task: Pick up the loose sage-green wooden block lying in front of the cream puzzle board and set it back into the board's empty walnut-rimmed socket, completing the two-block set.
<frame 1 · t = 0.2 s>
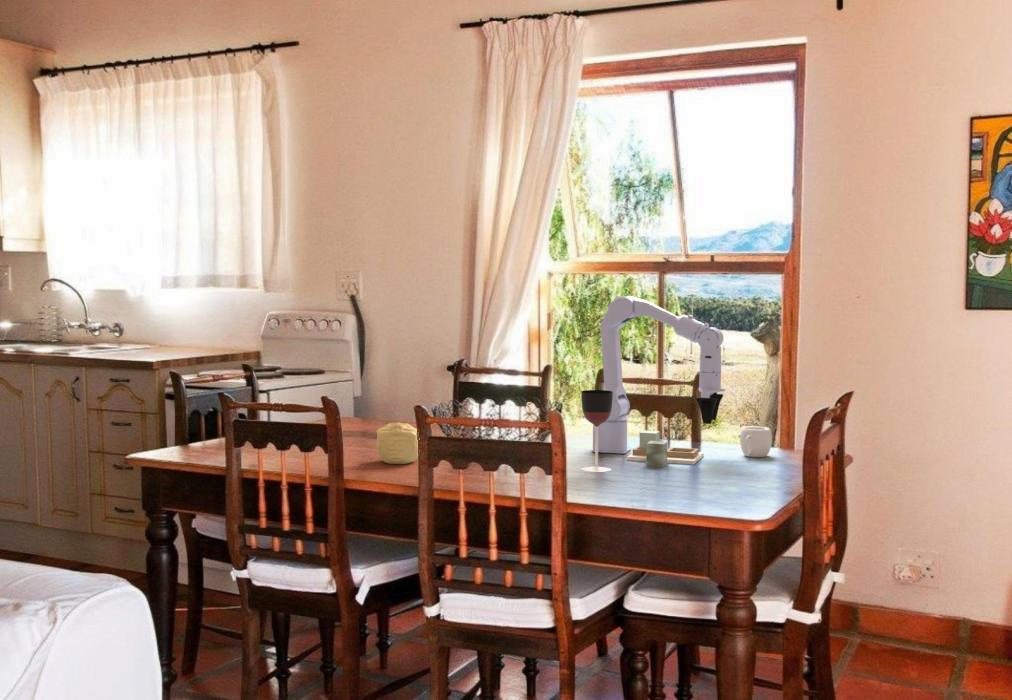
hand: (709, 421, 284), 10 cm above the table, tool pointing down, fingers open, 7 cm apart
wineglass: (596, 470, 267), on the table
green block: (656, 465, 274), on the table
mug: (753, 457, 286), on the table
puzzle board: (665, 458, 284), on the table
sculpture: (398, 463, 277), on the table
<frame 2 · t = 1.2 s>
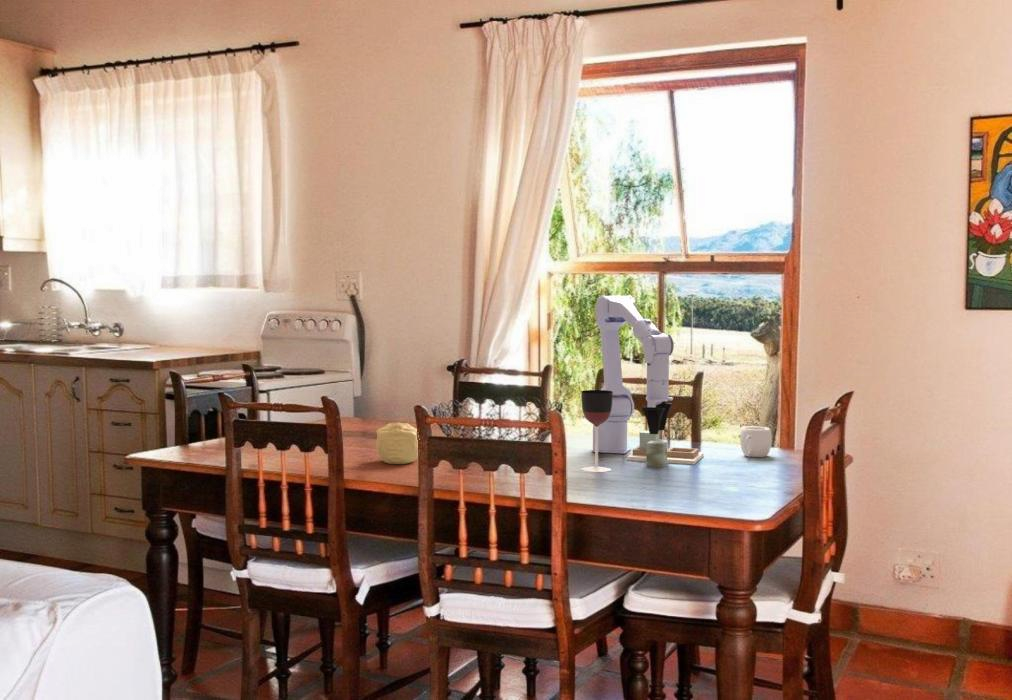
hand: (657, 432, 273), 9 cm above the table, tool pointing down, fingers open, 7 cm apart
nothing on the table moved.
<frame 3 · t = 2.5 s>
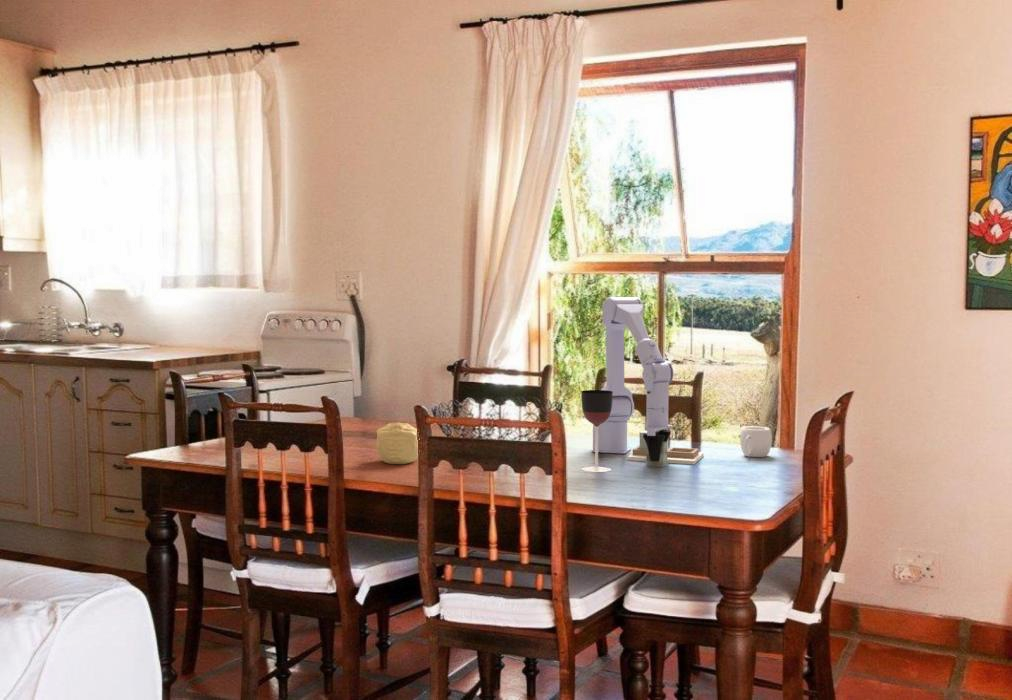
hand: (656, 459, 274), 1 cm above the table, tool pointing down, fingers closed on green block, 4 cm apart
green block: (656, 464, 274), on the table, touching gripper
everything else where it was.
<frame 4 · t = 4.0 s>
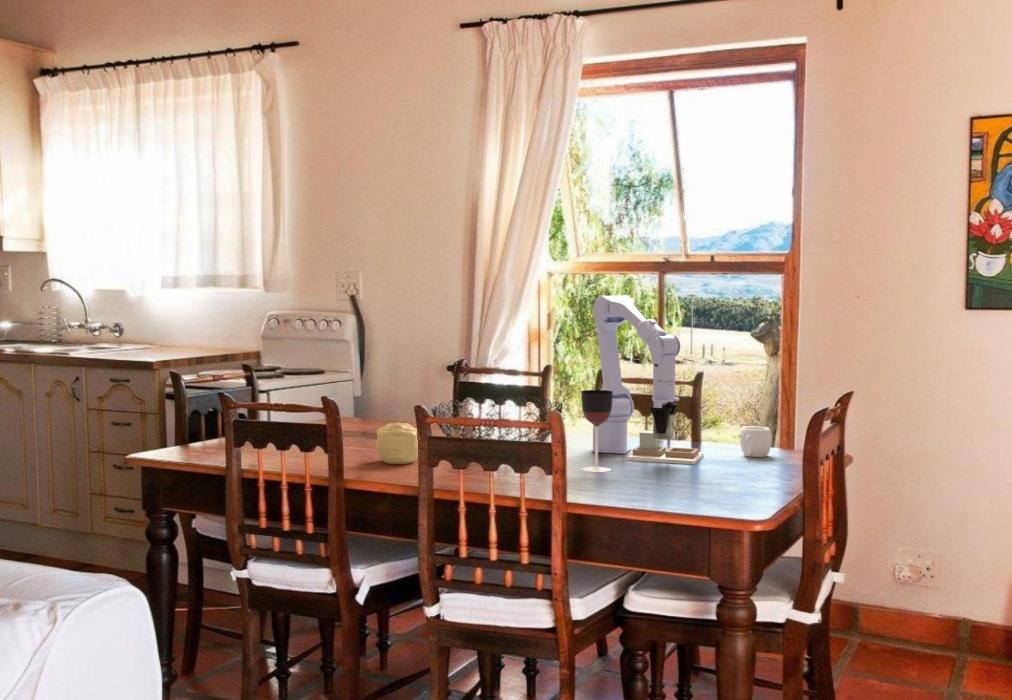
hand: (663, 432, 275), 8 cm above the table, tool pointing down, fingers closed on green block, 4 cm apart
green block: (663, 437, 275), point 7 cm above the table, touching gripper
everything else where it was.
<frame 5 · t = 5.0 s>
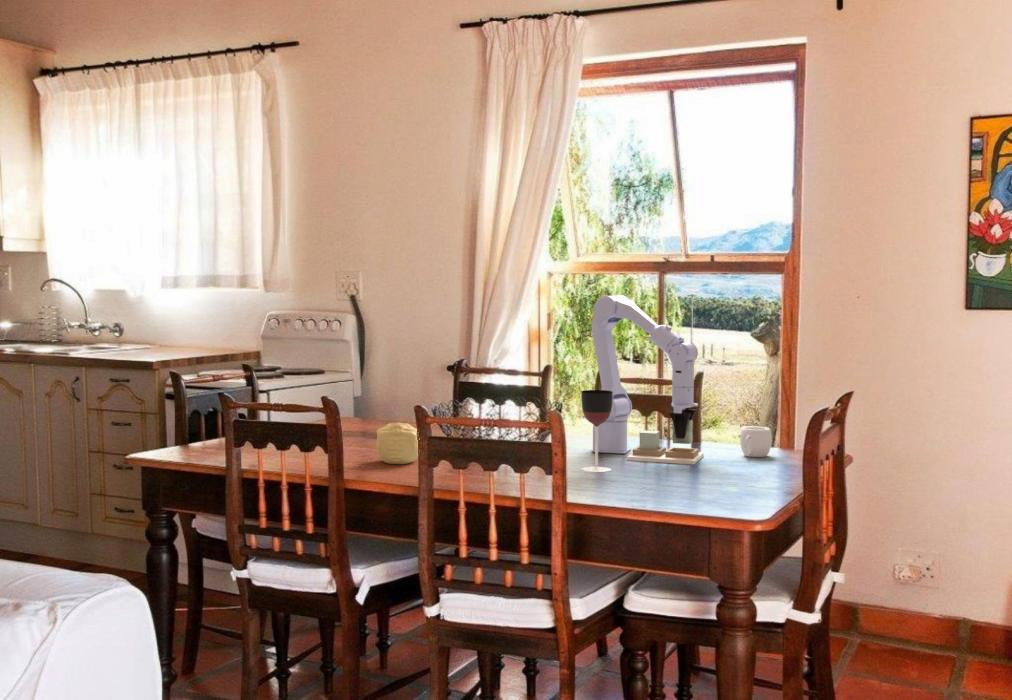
hand: (682, 436, 282), 6 cm above the table, tool pointing down, fingers closed on green block, 4 cm apart
green block: (682, 442, 282), point 5 cm above the table, touching gripper
everything else where it was.
when the fingers open (4 cm above the table, at t = 5.9 s): green block drops 1 cm, resting on puzzle board.
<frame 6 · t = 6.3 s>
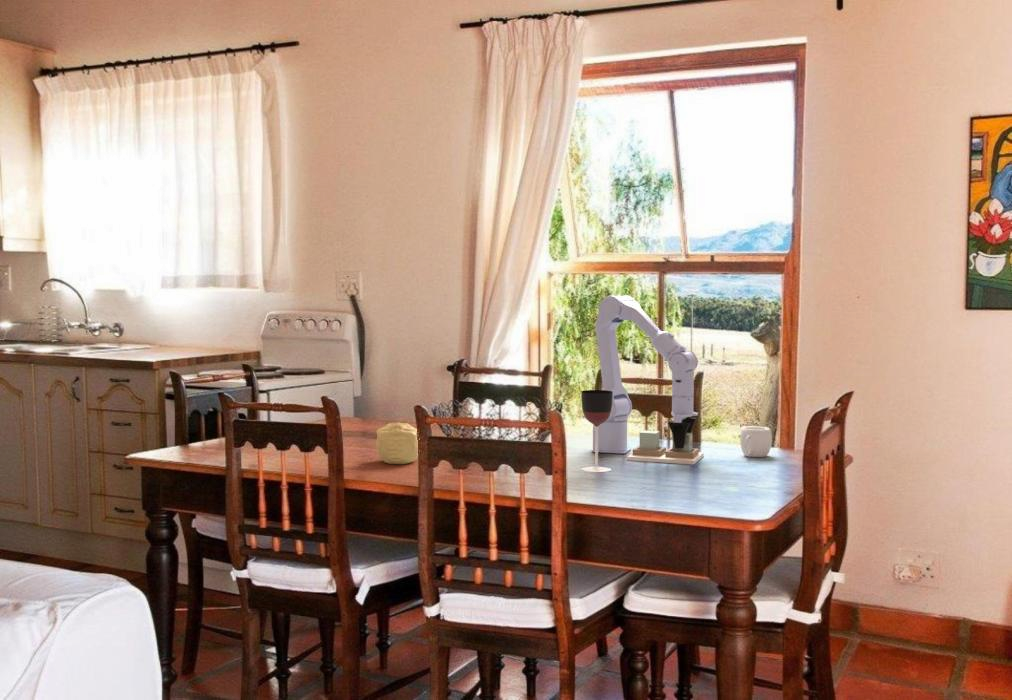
hand: (682, 446, 282), 4 cm above the table, tool pointing down, fingers open, 7 cm apart
green block: (682, 455, 282), point 1 cm above the table, touching puzzle board
everything else where it was.
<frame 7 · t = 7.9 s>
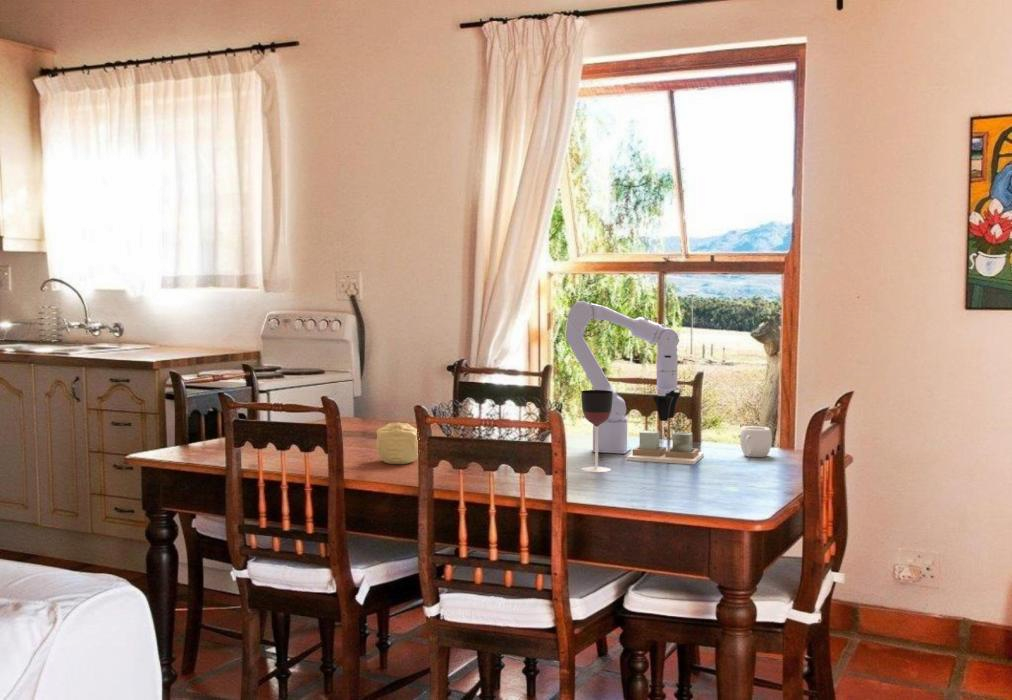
hand: (666, 419, 293), 9 cm above the table, tool pointing down, fingers open, 7 cm apart
nothing on the table moved.
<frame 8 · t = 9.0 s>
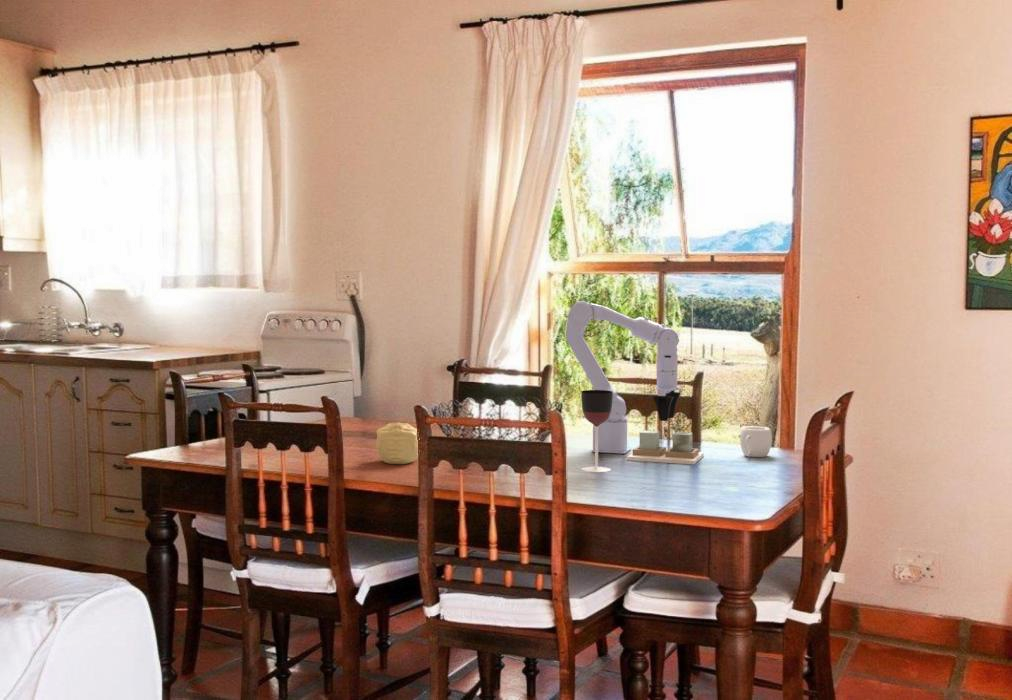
hand: (666, 419, 293), 9 cm above the table, tool pointing down, fingers open, 7 cm apart
nothing on the table moved.
at the end: green block 0.1 cm from the target spot on the puzzle board, point 1.0 cm above the puzzle board's base; green block tilted 0°; the gripper is holding nothing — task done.
